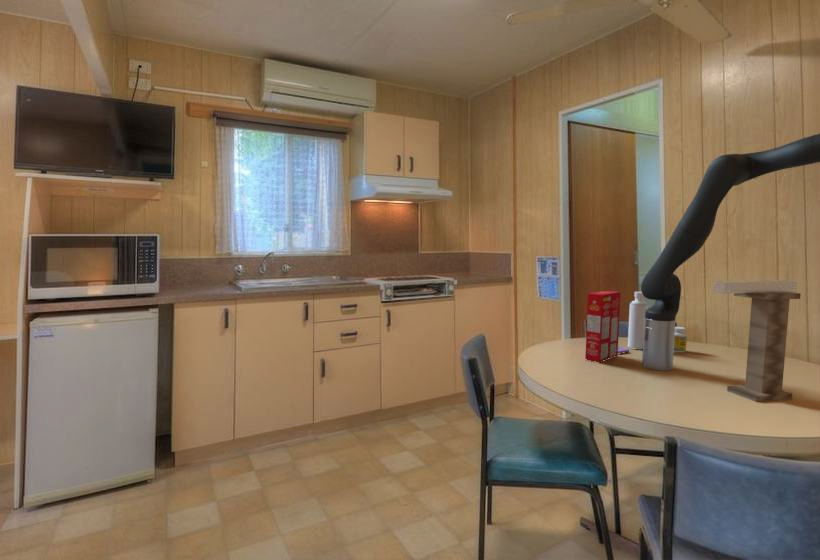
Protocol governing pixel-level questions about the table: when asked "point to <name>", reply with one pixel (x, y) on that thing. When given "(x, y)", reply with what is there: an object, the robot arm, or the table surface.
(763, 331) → the walnut stand
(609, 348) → the food packaging
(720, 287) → the beige long bar
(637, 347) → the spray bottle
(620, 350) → the sponges
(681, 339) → the supplement bottle
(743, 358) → the table surface
